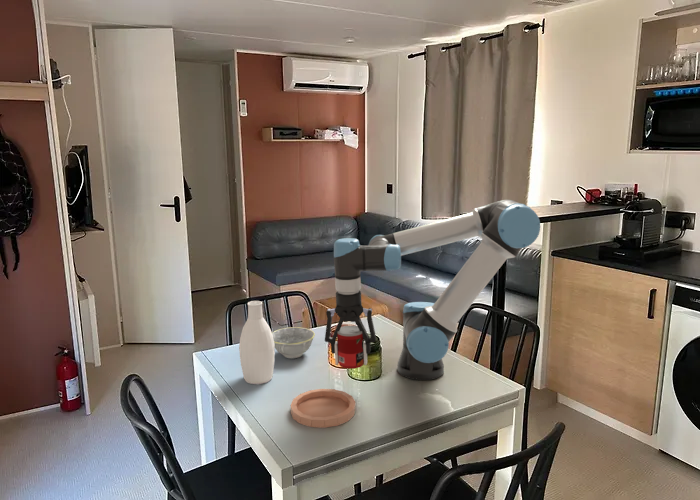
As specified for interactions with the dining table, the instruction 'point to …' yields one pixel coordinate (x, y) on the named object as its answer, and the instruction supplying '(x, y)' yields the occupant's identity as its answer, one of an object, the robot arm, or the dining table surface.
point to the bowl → (293, 341)
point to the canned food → (350, 347)
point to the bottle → (256, 347)
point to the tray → (323, 408)
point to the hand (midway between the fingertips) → (351, 362)
